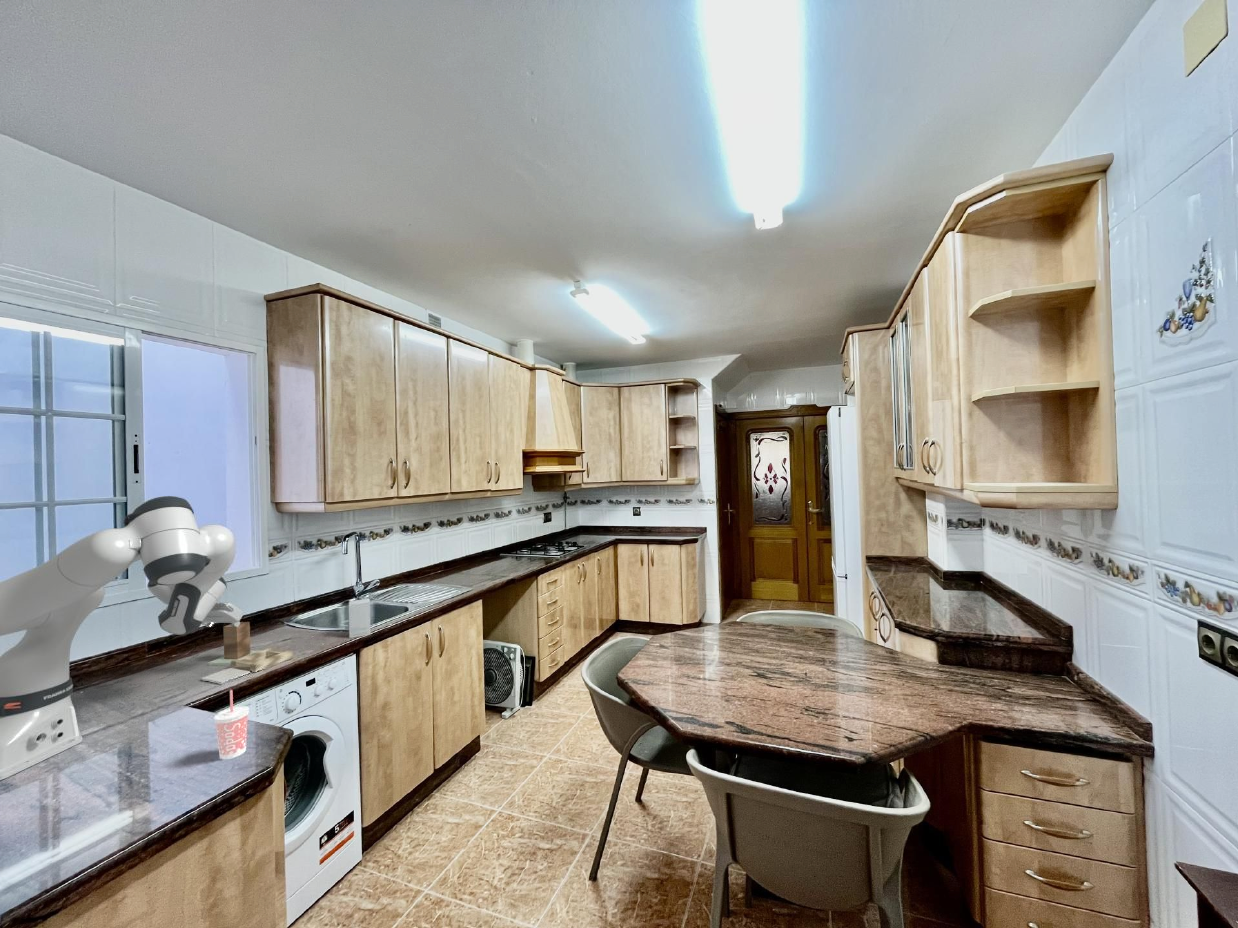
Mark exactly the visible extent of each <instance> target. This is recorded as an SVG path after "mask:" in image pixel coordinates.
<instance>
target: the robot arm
mask: <svg viewBox="0 0 1238 928" xmlns="http://www.w3.org/2000/svg"><path fill="white" fill-rule="evenodd" d="M194 514H195V513H194V509H193V507H192V506H191V504H190V503H189V502H188V501H187V499H185V498H182V497H179V496H172V495H171V496H170V495H167V496H165V495H164V496H159V497H154V498H151V499H148V500H146V501H144V502H143V503H141V505H139V506H137V507H136V508H135V509H134V510H133V511H132V512H131V513H130V514H127V515H126V516H125V518H124V520H123V524H124V527H122V528H121V527H120V528H106V529H102V530H100V531H99V530H98V531H97V532H95V533H91V534H90V535H87V536H85V537H83V538H81V539H79V540H78V541H76V542H74V543H73V544H71V545H69V546H68V547H66V548H65V549H64V550H61V552H59V553H58V554H56V555H54V556H53V557H51V558H50V559H48V560H47V561H45V562H44V563H42V564H40V565H38V566H36V567H34V568H32V569H29V570H27V571H24V572H22V573H20V574H17V575H14V576H12V577H10V578H8V579H6V580H3V581H1V582H0V637H1V636H6V635H10V634H14V633H18V632H22V631H26V632H25V634H24V636H23V637H22V638H21V639H20V640H19V642H18V643H17V644H15V645H14V646H12V647H11V648H9V649H8V650H7V651H4V653H3V654H1V656H0V781H2V780H4V779H7V778H9V777H11V776H13V775H15V774H18V773H20V772H22V771H24V770H26V769H28V768H30V767H32V766H35V765H36V764H38V763H41V762H43V761H44V760H47V759H49V758H51V757H53V756H56V755H57V754H60V753H62V752H64V751H66V750H68V749H70V748H72V747H74V746H77V745H78V744H81V743H83V741H84V740H83V738H84V737H83V736H82V732H81V730H80V727H79V725H78V721H77V714H76V709H75V707H74V704H73V701H72V698H71V695H72V693H74V690H73V688H74V684H73V678H72V677H71V676H70V656H71V647H72V643H73V640H74V638H75V635H77V632H78V631H79V630H78V629H79V628H80V627H81V625H82V624H83V622H84V621H85V619H86V618H88V617H89V616H90V614H91V613H92V612H94V611H95V610H96V609H97V608H99V607H100V605H102V604H101V603H102V602H103V601H104V598H105V592H106V591H105V587H104V586H107V584H109V583H110V582H112V581H113V580H115V579H116V578H117V577H119V576H120V575H122V574H123V573H124V572H125V571H126V570H127V569H128V568H129V567H130V566H131V565H132V564H133V563H135V562H138V561H141V562H142V565H143V573H144V574H145V577H146V578H147V580H148V582H147V587H146V588H147V589H148V591H149V592H150V593H151V594H152V595H153V596H155V598H157V599H158V600H159V601H161V602H162V603H163V604H165V605H167V606H166V607H165V609H164V610H163V611H162V612H161V613H160V614H159V615H158V616H157V620H158V625H159V626H160V628H161V629H162V630H163V631H165V632H166V633H169V634H172V635H175V636H184V635H188V634H190V633H193V632H196V631H198V630H199V628H200V626H201V625H202V626H205V627H207V628H212V627H214V625H215V623H218V624H219V623H221V624H223V623H224V624H225V623H229V624H231V626H232V627H238V626H239V624H240V621H241V619H242V617H243V616H244V613H245V612H244V610H243V609H241V608H239V607H237V606H236V605H235V604H233V603H231V602H226V601H219V600H220V599H221V597H222V595H223V594H224V593H225V591H226V589H227V588H228V586H227V581H226V580H225V578H223V575H225V574H226V572H227V571H228V570H229V569H230V568H231V566H232V565H233V563H234V560H235V557H236V553H237V544H236V542H237V541H236V539H235V536H234V533H233V532H232V531H231V529H229V528H228V527H226V526H224V525H221V524H215V523H214V524H207V525H203V526H200V527H199V526H198V523H197V521H196V520H197V519H196V518H195V515H194Z"/></svg>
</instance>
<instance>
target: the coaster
mask: <svg viewBox="0 0 1238 928" xmlns="http://www.w3.org/2000/svg"><path fill="white" fill-rule="evenodd" d="M259 651H260V650H250V654H253V653H256V652H259ZM250 654H249V655H250ZM246 656H248V655H246ZM244 657H245V656H244ZM233 660H236V659H224V655H223V656H221V657H218V658H216V659H214V660H211V661H209V662H207V665H208V666H231V661H233Z"/></svg>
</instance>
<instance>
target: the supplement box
mask: <svg viewBox="0 0 1238 928" xmlns="http://www.w3.org/2000/svg"><path fill="white" fill-rule="evenodd" d="M348 635H349V636H348V638H349V639H352V638H358V637H363V636H364V637H365V636H370V635H371V600H370V598H364V599H363V598H362V599H357V600H356V599H355V600H350V601H348Z"/></svg>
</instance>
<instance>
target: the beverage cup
mask: <svg viewBox="0 0 1238 928" xmlns="http://www.w3.org/2000/svg"><path fill="white" fill-rule="evenodd" d="M233 696H234V695H233V689H230V690H229V708H227V709H225V710H223V711H220V712H218V713H217V714H215V715H214V717H213V720H214V723H215V728H216V736H217V746H218V756H219V759H220V760H231V759H234V758H236V757H239V756H241V755H242V754H244V753H245V752H246V751H247V734H248V717H249V716H248V714H249V712H250V708H249V706H246V705H241V706H235V707H234V704H233V703H234V701H233V699H234V697H233Z"/></svg>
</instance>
